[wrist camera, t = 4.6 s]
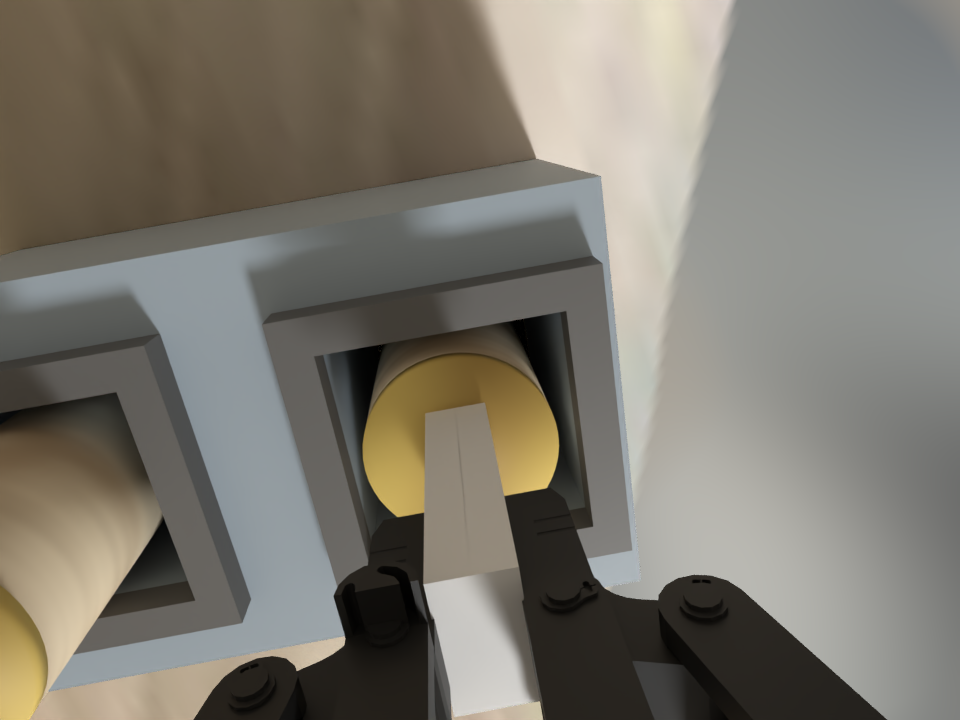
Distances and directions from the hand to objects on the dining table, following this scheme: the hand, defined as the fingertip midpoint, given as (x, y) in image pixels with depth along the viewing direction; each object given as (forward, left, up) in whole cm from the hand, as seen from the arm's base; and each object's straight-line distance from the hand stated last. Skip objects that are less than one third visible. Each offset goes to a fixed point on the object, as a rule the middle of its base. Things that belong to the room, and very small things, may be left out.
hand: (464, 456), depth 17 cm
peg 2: (0, 0, -10) cm, 10 cm away
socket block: (-4, -4, -11) cm, 13 cm away
